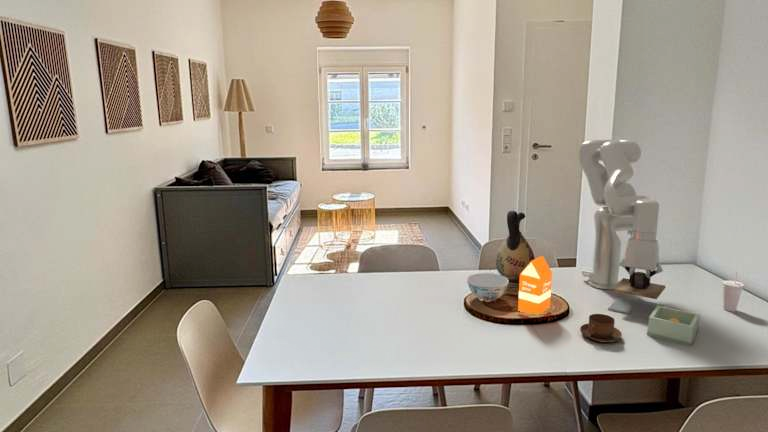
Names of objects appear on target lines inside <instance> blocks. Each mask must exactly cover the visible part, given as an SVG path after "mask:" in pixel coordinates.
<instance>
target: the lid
mask: <svg viewBox="0 0 768 432" xmlns="http://www.w3.org/2000/svg"><path fill="white" fill-rule="evenodd" d="M645 277H646V272H644V271H643V272H642V271H635V275H634V286H631V283H629V280H630V278H625V277H622V279H620V280H619V281H620V282H619V283H618V284H617V285H616V286H615V287H613V288H612V292H617V293H622V294H627V295H631V296H636V297H637V296H638V297H641V298H647V299H653V300H657V299H658V298H659V297H660V296H661V294H662V293H663V292H664V290H665V289H666V285H664V284H660V283H659V284H658V283H652V282H650V286H648V287H647V288H646V289H644V279H645Z"/></svg>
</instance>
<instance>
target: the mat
mask: <svg viewBox="0 0 768 432" xmlns="http://www.w3.org/2000/svg"><path fill="white" fill-rule="evenodd" d="M657 305H658V306H663V307H666V306H665V305H666V304H662V303H658V302H653V301H647V300H644V299H638V298H634V297H629V296H624V295H618V297H617V298H616V299H615V300H614V301H613V302H612V304H611V305H609V307H608V309H607V310H608V311H613V312H617V313H621V314H625V315H629V316H634V317H638V318H643V319H647V320H649V317H650V315H651V314H652V312H653V311H654V310H655V308H656V307H657Z"/></svg>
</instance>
